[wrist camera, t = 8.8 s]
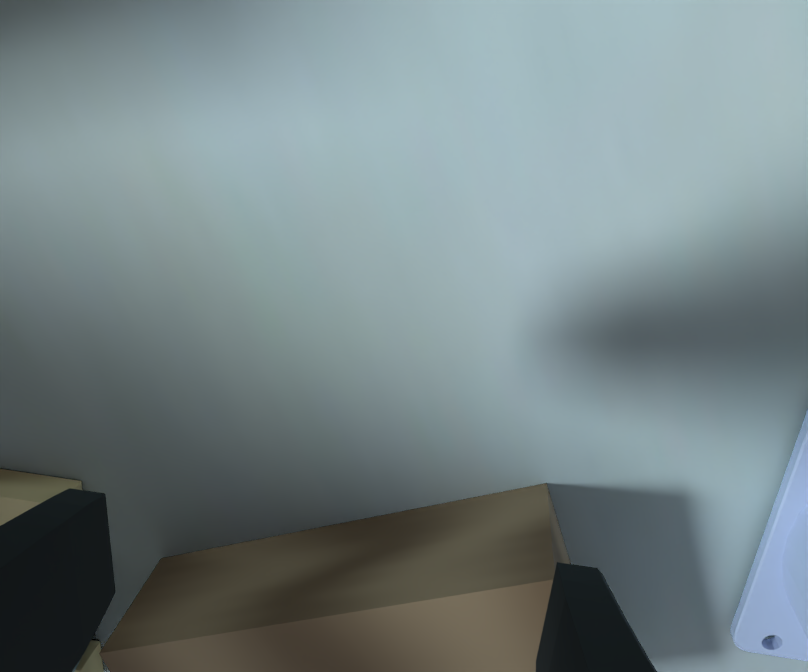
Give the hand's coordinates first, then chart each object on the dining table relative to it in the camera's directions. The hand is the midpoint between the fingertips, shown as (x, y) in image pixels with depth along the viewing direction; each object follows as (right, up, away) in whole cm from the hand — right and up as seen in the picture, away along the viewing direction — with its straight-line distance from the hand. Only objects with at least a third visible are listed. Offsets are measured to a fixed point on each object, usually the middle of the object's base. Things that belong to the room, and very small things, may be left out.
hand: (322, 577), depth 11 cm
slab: (0, -4, +11) cm, 11 cm away
